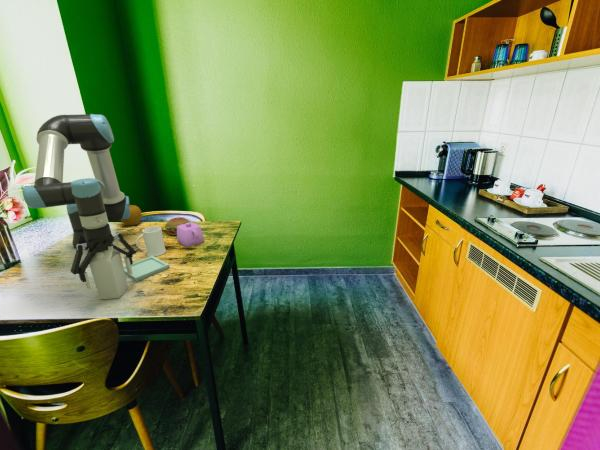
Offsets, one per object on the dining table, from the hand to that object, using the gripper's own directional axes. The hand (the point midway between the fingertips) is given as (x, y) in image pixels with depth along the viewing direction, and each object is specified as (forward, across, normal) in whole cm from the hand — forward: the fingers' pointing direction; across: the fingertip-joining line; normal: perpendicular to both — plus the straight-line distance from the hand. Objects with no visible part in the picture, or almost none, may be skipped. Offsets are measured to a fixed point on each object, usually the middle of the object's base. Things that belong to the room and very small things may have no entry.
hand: (110, 280), depth 110 cm
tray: (+6, +16, +9) cm, 19 cm away
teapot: (+6, +45, +20) cm, 50 cm away
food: (+6, +49, +37) cm, 62 cm away
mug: (+6, +26, +22) cm, 35 cm away
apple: (+6, +39, +72) cm, 82 cm away
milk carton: (+6, 0, +1) cm, 6 cm away
